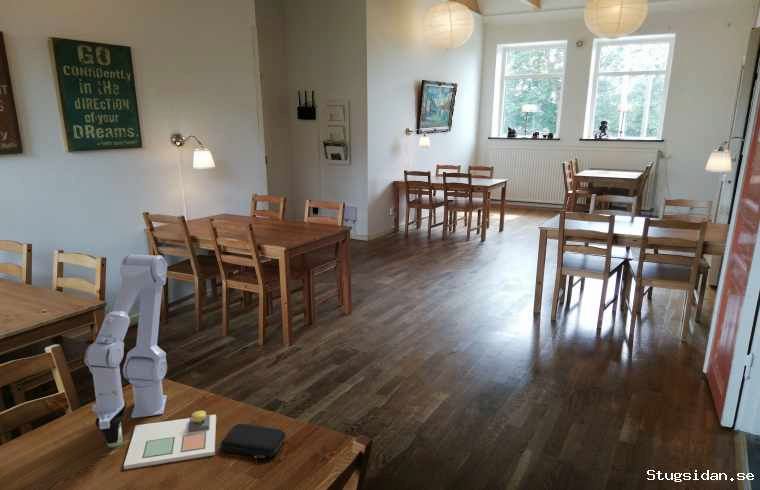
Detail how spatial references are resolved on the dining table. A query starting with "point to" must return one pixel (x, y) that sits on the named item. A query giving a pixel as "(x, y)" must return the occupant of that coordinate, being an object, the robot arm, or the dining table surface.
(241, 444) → the carrying case or bag
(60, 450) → the dining table surface
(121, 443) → the green bulb-shaped piece
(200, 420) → the button
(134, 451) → the colouring board
